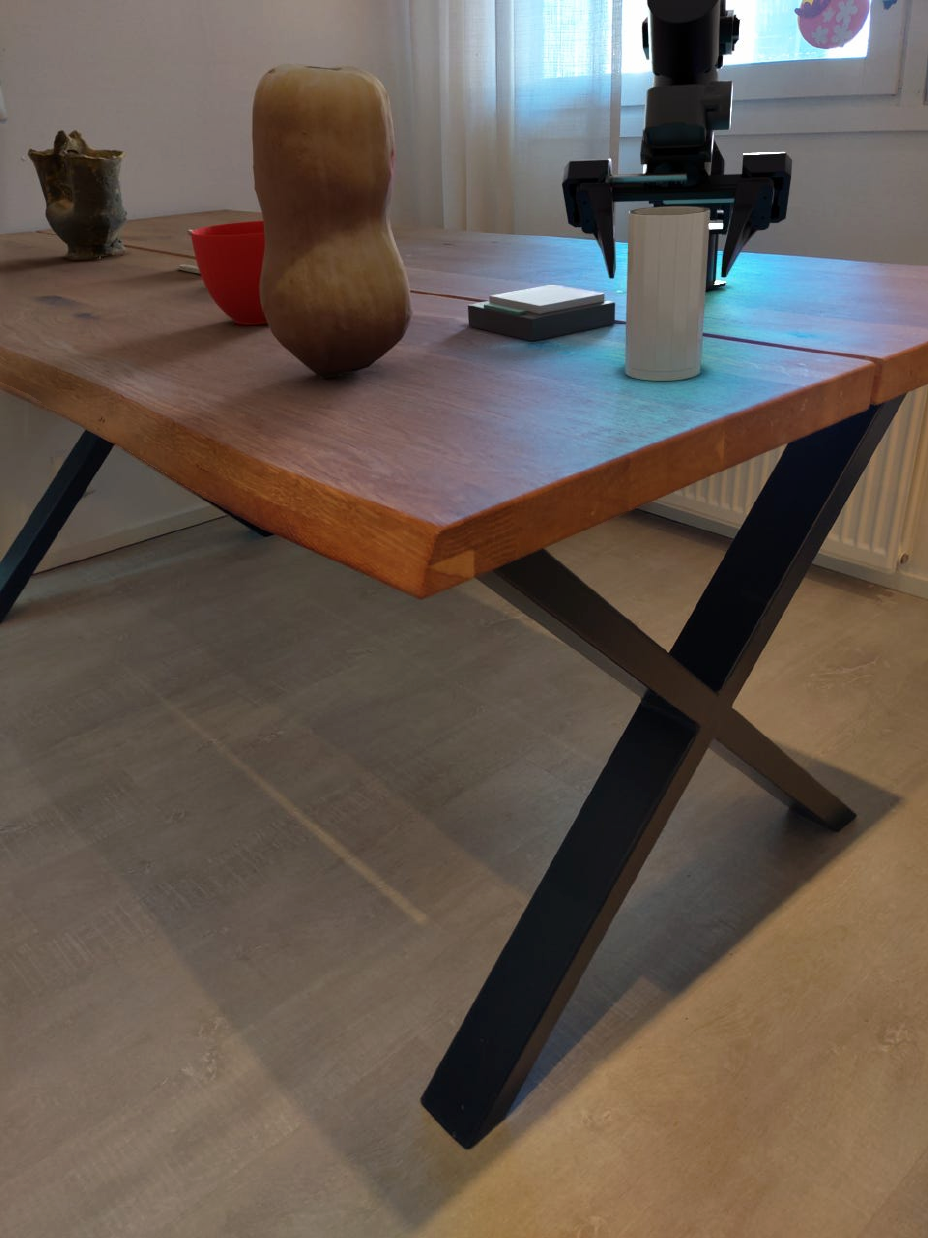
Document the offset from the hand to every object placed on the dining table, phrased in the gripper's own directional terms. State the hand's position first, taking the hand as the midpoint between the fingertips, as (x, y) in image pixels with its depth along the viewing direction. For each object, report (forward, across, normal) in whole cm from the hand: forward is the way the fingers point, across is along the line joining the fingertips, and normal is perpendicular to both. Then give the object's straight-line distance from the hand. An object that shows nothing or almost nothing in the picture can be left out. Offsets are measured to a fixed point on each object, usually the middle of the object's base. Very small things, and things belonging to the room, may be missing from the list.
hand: (666, 274), depth 84 cm
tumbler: (+6, 0, +6) cm, 8 cm away
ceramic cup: (-10, -49, +22) cm, 55 cm away
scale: (-8, -14, +19) cm, 25 cm away
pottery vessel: (-47, -103, +58) cm, 127 cm away
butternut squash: (+7, -29, +5) cm, 30 cm away
